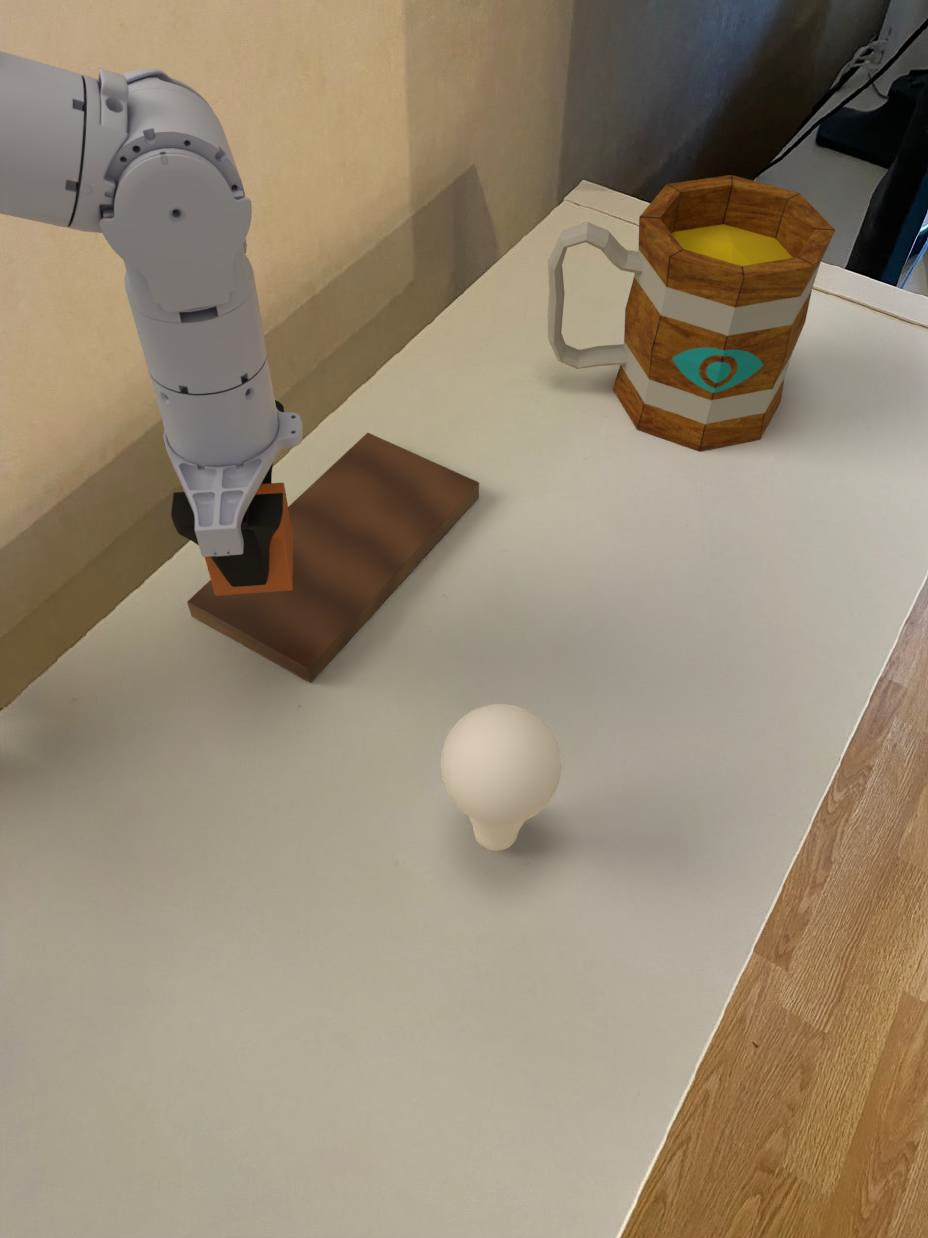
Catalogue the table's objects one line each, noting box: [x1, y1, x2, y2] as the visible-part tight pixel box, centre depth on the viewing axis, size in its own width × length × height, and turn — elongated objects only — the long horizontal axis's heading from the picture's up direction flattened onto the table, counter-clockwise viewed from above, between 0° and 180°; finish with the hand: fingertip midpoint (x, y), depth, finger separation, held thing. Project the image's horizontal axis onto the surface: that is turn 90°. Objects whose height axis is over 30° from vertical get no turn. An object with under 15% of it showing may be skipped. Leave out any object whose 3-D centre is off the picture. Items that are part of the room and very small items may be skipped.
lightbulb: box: [440, 703, 563, 852], centre depth 53 cm, size 6×6×11 cm
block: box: [204, 482, 293, 596], centre depth 59 cm, size 4×4×4 cm
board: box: [186, 432, 480, 684], centre depth 70 cm, size 20×10×2 cm, turn 147°
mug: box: [547, 174, 836, 452], centre depth 77 cm, size 20×14×15 cm
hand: (250, 549), depth 60 cm, fingers closed on block, 4 cm apart
